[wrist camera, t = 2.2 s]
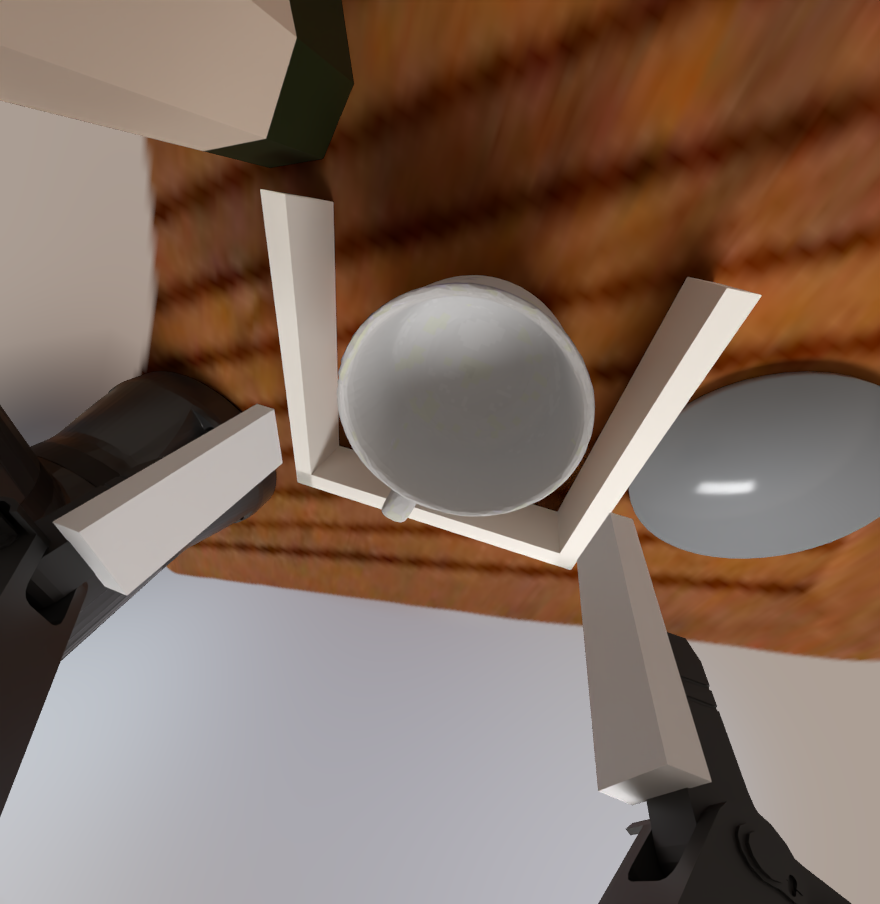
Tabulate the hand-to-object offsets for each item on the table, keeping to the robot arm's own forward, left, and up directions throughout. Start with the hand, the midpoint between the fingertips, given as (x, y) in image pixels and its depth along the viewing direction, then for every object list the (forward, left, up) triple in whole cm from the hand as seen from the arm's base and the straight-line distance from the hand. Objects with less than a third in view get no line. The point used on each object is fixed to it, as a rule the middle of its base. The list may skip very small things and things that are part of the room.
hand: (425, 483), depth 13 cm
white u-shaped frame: (0, 0, -10) cm, 10 cm away
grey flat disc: (+18, -1, -10) cm, 20 cm away
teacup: (0, 0, -10) cm, 10 cm away
